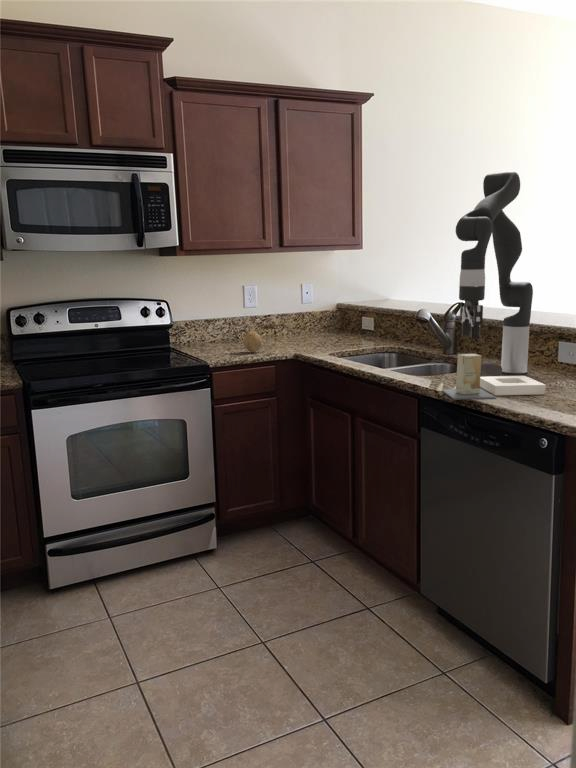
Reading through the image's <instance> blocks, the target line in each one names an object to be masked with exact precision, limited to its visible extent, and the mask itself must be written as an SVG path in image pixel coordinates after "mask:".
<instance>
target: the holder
mask: <svg viewBox="0 0 576 768" xmlns="http://www.w3.org/2000/svg"><path fill="white" fill-rule="evenodd" d="M546 386H547V385H546V384H544V383H542V382H540V381H538V380H536V379H534V378H531V377H528V376H526V375H501V376H488V377H480V389H483V390H484V391H486V392H488V393H490V394H491V395H493V396H519V395H520V396H521V395H527V396H528V395H530V396H531V395H546Z"/></svg>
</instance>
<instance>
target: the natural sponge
mask: <svg viewBox="0 0 576 768" xmlns="http://www.w3.org/2000/svg"><path fill="white" fill-rule="evenodd" d="M242 345H243V346H244V348H245V349H246V350H247V351H248V352H250V353H252V354H253V353H257V352H258V351H259V350H261V349H262V348H263V346H264V342H263V339H262V337H261V336H260V334H259V333H258V332H256V331H253V330H250V331H248V332H247V333H245V335H244V336H243V338H242Z"/></svg>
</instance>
